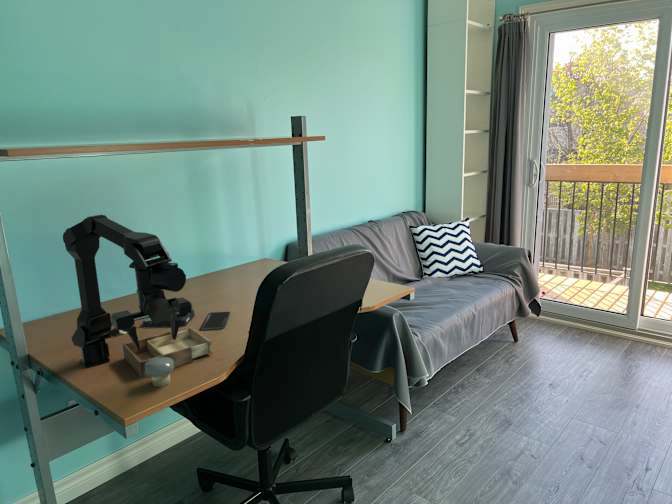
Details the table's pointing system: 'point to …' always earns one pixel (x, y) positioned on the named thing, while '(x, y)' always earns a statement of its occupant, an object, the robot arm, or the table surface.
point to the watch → (116, 332)
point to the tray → (181, 343)
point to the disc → (159, 366)
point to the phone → (215, 321)
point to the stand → (161, 380)
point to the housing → (143, 355)
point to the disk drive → (184, 321)
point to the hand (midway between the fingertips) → (156, 344)
